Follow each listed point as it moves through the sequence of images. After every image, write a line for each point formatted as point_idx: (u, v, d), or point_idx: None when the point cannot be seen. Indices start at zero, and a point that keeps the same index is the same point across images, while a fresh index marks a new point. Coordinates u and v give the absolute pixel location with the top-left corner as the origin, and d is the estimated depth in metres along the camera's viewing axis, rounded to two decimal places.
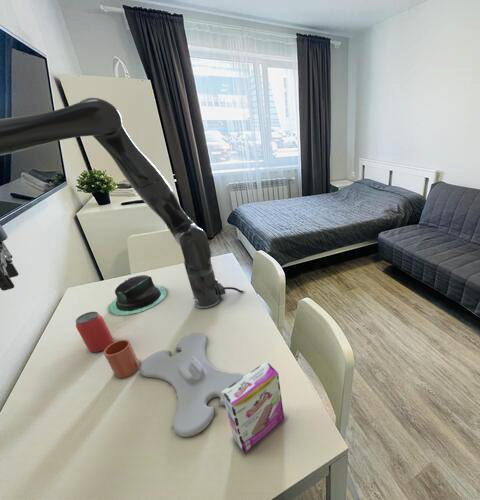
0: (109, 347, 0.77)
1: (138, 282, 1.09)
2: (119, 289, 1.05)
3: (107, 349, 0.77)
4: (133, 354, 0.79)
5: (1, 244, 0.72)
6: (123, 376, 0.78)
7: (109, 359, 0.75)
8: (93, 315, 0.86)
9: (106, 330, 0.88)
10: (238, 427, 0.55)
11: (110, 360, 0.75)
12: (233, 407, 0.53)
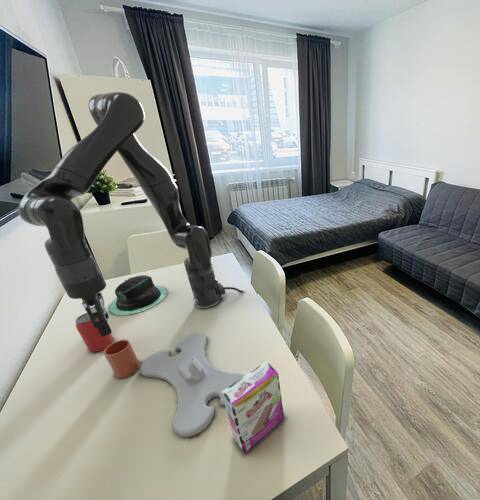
0: (109, 347, 0.77)
1: (138, 282, 1.09)
2: (119, 289, 1.05)
3: (107, 349, 0.77)
4: (133, 354, 0.79)
5: None
6: (123, 376, 0.78)
7: (109, 359, 0.75)
8: None
9: None
10: (238, 427, 0.55)
11: (110, 360, 0.75)
12: (233, 407, 0.53)
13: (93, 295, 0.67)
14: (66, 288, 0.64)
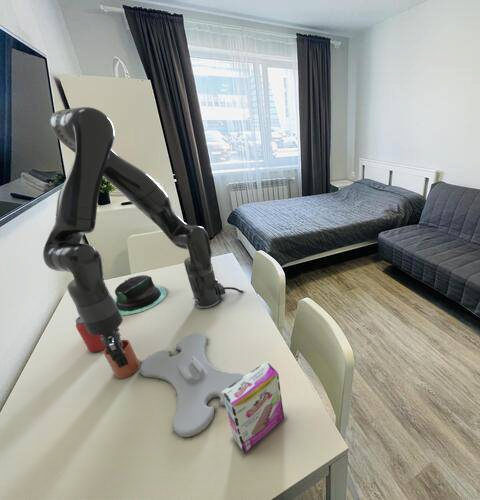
0: None
1: (138, 282, 1.09)
2: (119, 289, 1.05)
3: None
4: (133, 354, 0.79)
5: None
6: (123, 376, 0.78)
7: (109, 359, 0.75)
8: None
9: None
10: (238, 427, 0.55)
11: (110, 360, 0.75)
12: (233, 407, 0.53)
13: (111, 331, 0.72)
14: (87, 326, 0.69)
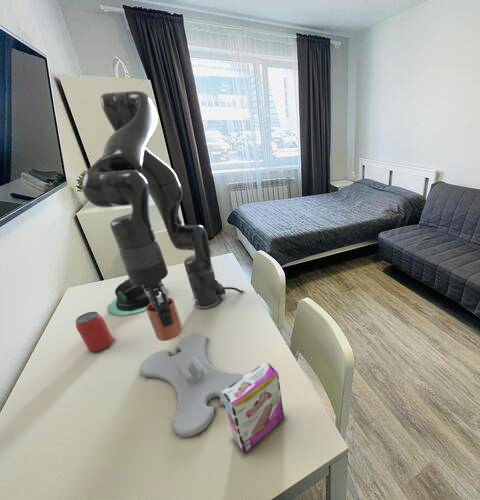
0: (151, 305, 0.67)
1: None
2: (119, 289, 1.05)
3: (149, 307, 0.67)
4: (177, 314, 0.69)
5: None
6: (166, 338, 0.68)
7: (152, 317, 0.65)
8: (93, 315, 0.86)
9: (106, 330, 0.88)
10: (238, 427, 0.55)
11: (153, 318, 0.65)
12: (233, 407, 0.53)
13: (157, 282, 0.62)
14: (131, 274, 0.59)
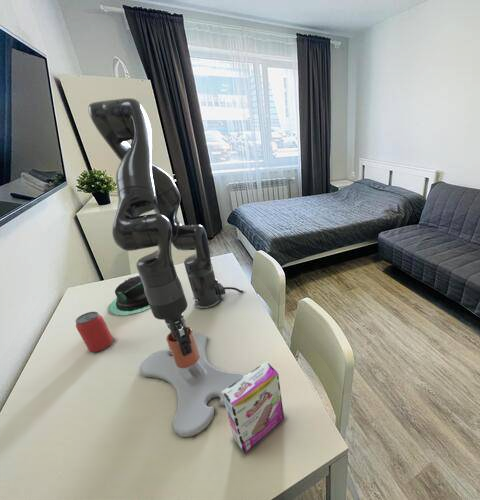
0: (170, 334, 0.71)
1: (138, 282, 1.09)
2: (119, 289, 1.05)
3: (169, 336, 0.70)
4: (195, 342, 0.73)
5: None
6: (185, 366, 0.72)
7: (173, 347, 0.68)
8: (93, 315, 0.86)
9: (106, 330, 0.88)
10: (238, 427, 0.55)
11: (174, 348, 0.69)
12: (233, 407, 0.53)
13: (179, 315, 0.65)
14: (154, 309, 0.63)
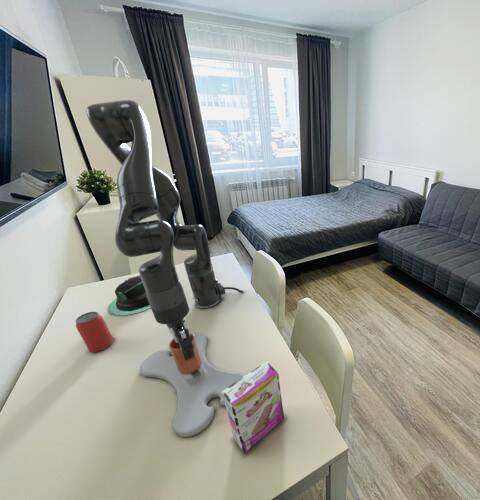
0: (173, 341, 0.72)
1: (138, 282, 1.09)
2: (119, 289, 1.05)
3: (172, 343, 0.71)
4: (197, 348, 0.74)
5: None
6: (188, 372, 0.73)
7: (175, 354, 0.69)
8: (93, 315, 0.86)
9: (106, 330, 0.88)
10: (238, 427, 0.55)
11: (176, 355, 0.70)
12: (233, 407, 0.53)
13: (181, 320, 0.66)
14: (157, 314, 0.63)
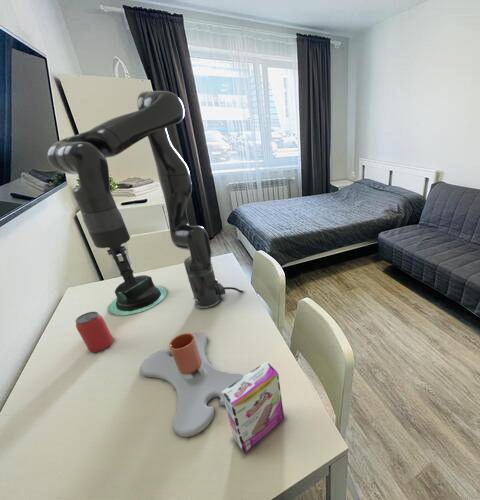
0: (173, 341, 0.72)
1: (138, 282, 1.09)
2: (119, 289, 1.05)
3: (172, 343, 0.71)
4: (197, 348, 0.74)
5: None
6: (188, 372, 0.73)
7: (175, 354, 0.69)
8: (93, 315, 0.86)
9: (106, 330, 0.88)
10: (238, 427, 0.55)
11: (176, 355, 0.70)
12: (233, 407, 0.53)
13: (119, 245, 0.69)
14: (93, 237, 0.66)
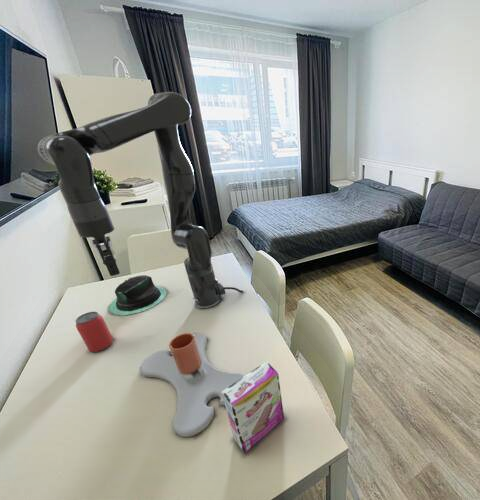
0: (173, 341, 0.72)
1: (138, 282, 1.09)
2: (119, 289, 1.05)
3: (172, 343, 0.71)
4: (197, 348, 0.74)
5: None
6: (188, 372, 0.73)
7: (175, 354, 0.69)
8: (93, 315, 0.86)
9: (106, 330, 0.88)
10: (238, 427, 0.55)
11: (176, 355, 0.70)
12: (233, 407, 0.53)
13: (102, 235, 0.72)
14: (78, 226, 0.69)
